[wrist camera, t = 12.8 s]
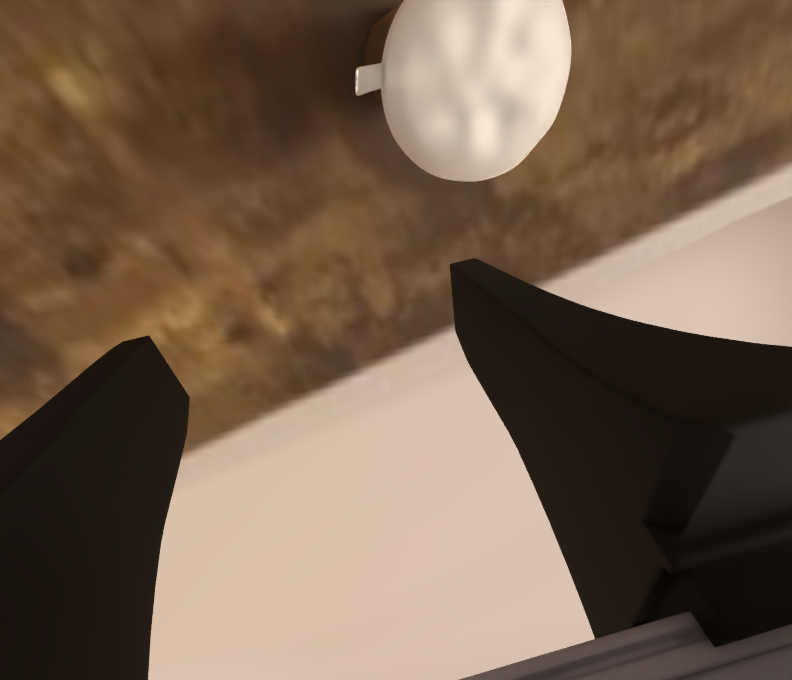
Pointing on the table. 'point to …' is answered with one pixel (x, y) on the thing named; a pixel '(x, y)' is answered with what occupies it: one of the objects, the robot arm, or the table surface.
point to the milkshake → (468, 80)
